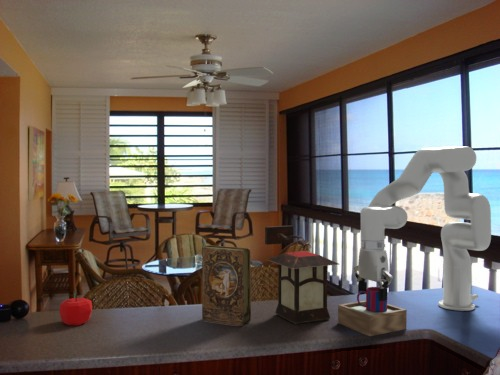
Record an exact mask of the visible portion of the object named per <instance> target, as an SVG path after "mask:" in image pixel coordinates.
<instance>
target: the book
mask: <svg viewBox="0 0 500 375" xmlns="http://www.w3.org/2000/svg"><path fill="white" fill-rule="evenodd" d="M251 257H252V256H251V249H250V247H239V246H238V247H236V246H222V245H204V246H201V281H202V282H201V294H202V295H201V298H202V299H201V306H202V308H201V311H202V312H201V314H202V315H201V317H202V318H201V320H202V322H205V323H211V324H219V325H226V326H233V327H243V326H244V325H245V324H247V323H250V321H251V320H252V319H251V318H252V309H251V308H252V302H251V301H252V300H251V298H252V297H251V295H252V292H251V291H252V289H251V286H252V284H251V282H252V281H251V280H252V279H251V278H252V276H251V272H252V271H251V269H252V268H251V264H252V263H251V261H252V260H251V259H252V258H251Z"/></svg>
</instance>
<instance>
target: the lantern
mask: <svg viewBox="0 0 500 375" xmlns="http://www.w3.org/2000/svg"><path fill="white" fill-rule="evenodd" d="M294 239H297V240H296V242H295V246H294V250H293V251H291V252H284V253H282V254H278V255H277V256H273V257H270V258H267V259H266V261H268V262H271V263H275V264H276V265H278V268H277V270H278V271H277V272H278V278H277V279H278V280H277V281H278V282H277V285H278V289H277V291H278V295H277V296H278V302H277V303H278V304H277V307H276V310H275V312H274V314H276V315H277V316H279V317H280V318H282V319H284V320H286V321H288V322H289V323H290V322H291V323H292V324H293V325H303V324H307V323H308V324H309V323H315V322H316V323H317V322H323V321H329V320H330V319H331V316H330V313H329V310H328V266H337V265H338V266H339V265H340V263H338V262H336V261H334V260H332V259H330V258H326V257H325V256H322V255H320V254H318V253H313V252H310V251H309V249H308V246H307V243H306V241H305V239H304V238H303V237H302V236H299V235H294V225H277V226H276V225H274V226H264V244H265V245H268V246H269V245H282V244H294ZM299 239H302V240H303V241H304V244H305V248H306V249H307V250H306V251H305V250H300V251H296V246H297V243H298V240H299Z"/></svg>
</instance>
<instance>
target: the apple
mask: <svg viewBox="0 0 500 375" xmlns="http://www.w3.org/2000/svg"><path fill="white" fill-rule="evenodd" d="M77 296H78V293H76V292H73V297H74V298H67V299H64V301H62V302H61V303H60V305H59V315H60V319H61V322H62V323H64V324H65V325H68V326H81V325H85V324H86V322H88V321H89V320H90V318H91V316H92V311H93V303H92V300H90V299H88V298H85V297H77Z"/></svg>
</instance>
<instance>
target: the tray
mask: <svg viewBox="0 0 500 375" xmlns="http://www.w3.org/2000/svg"><path fill="white" fill-rule="evenodd" d="M359 302H360V303H361V304H362V305H366V300H359ZM407 312H408V311H407V309H405V308H403V307H398V306H396V305H394V304H390V303H387V311H386V312H371V311H368V310H366V307H363V306H361V305H360V304H359V303H358V301H354V302H347V303H341V304H338V305H337V324H338V325H342V326H343V327H345V328H348V329H351V330H353V331H355V332H357V333H361V334H363V335H365V336H368V337H373V336H378V335H383V334H388V333H394V332H399V331H403V330H406V329H407V322H408V320H407V317H408V316H407V314H408V313H407Z"/></svg>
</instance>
